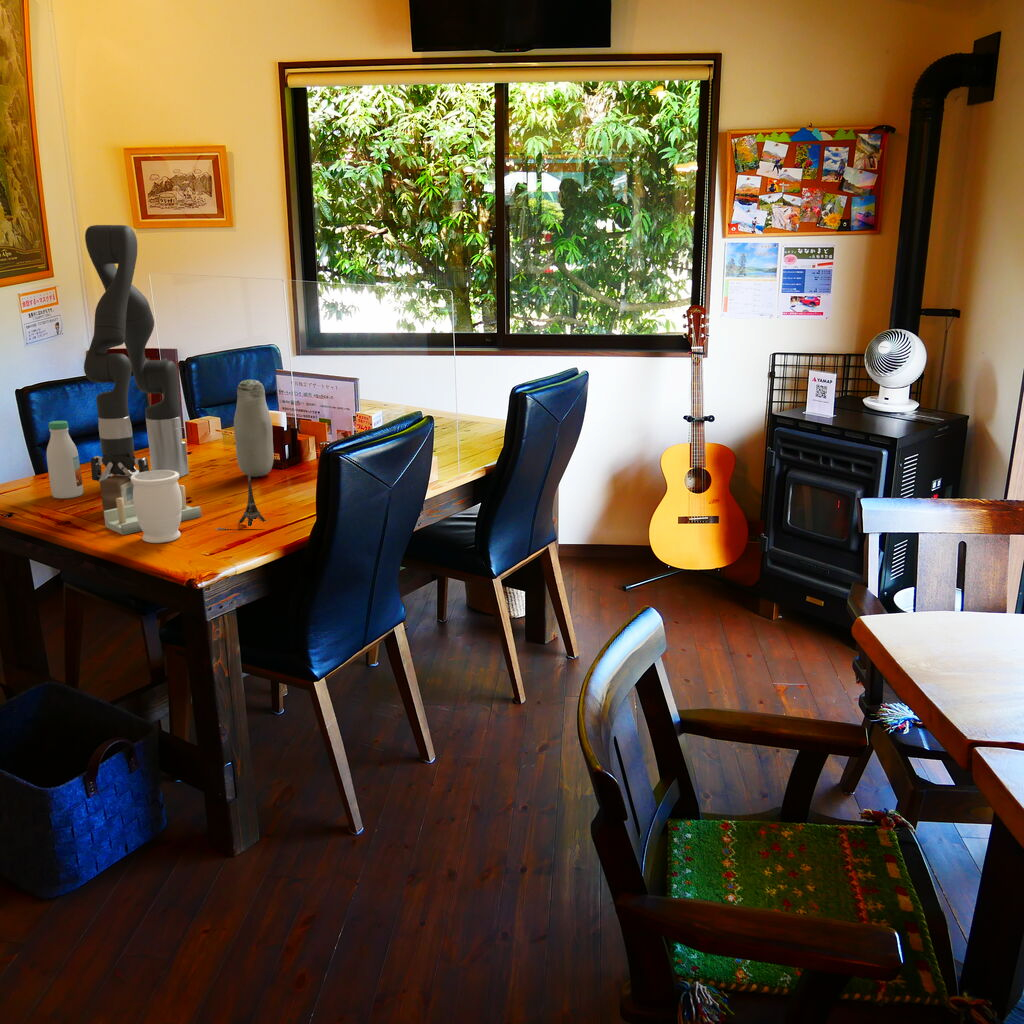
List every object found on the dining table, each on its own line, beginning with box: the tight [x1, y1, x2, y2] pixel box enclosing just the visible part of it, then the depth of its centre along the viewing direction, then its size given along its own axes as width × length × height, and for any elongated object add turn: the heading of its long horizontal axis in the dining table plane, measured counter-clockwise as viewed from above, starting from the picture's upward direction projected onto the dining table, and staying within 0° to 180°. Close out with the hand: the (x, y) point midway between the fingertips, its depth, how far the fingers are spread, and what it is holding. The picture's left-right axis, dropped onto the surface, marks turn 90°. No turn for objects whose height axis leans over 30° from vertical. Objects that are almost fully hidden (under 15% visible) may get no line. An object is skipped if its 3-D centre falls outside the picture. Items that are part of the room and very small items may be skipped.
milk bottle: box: [46, 420, 84, 500], centre depth 243 cm, size 8×8×20 cm
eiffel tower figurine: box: [215, 476, 267, 531], centre depth 222 cm, size 15×10×13 cm
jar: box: [131, 470, 182, 544], centre depth 210 cm, size 11×10×15 cm
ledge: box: [103, 484, 202, 536], centre depth 223 cm, size 20×9×8 cm, turn 138°
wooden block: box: [99, 469, 140, 513], centre depth 233 cm, size 12×5×9 cm, turn 173°
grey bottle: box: [233, 379, 275, 478], centre depth 263 cm, size 10×10×28 cm
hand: (123, 497), depth 233 cm, fingers open, 8 cm apart
